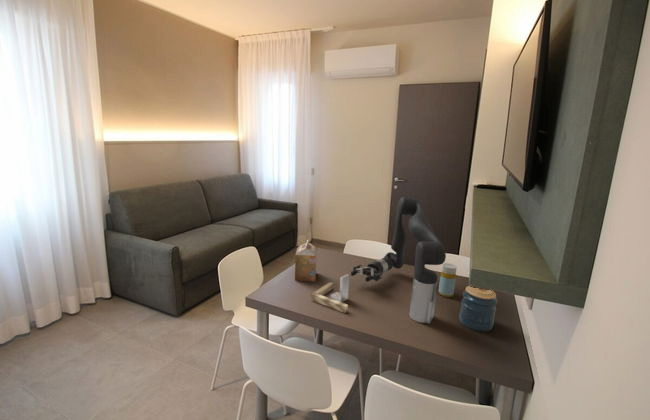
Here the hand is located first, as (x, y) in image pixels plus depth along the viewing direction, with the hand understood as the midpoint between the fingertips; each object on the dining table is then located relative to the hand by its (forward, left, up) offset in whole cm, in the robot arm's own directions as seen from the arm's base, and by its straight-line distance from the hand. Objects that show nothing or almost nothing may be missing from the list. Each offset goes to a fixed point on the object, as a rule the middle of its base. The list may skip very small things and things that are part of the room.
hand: (358, 276), depth 149 cm
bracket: (+5, +10, -8) cm, 14 cm away
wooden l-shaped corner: (+5, +12, -8) cm, 15 cm away
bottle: (-35, -26, -9) cm, 45 cm away
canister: (-51, -7, -9) cm, 53 cm away
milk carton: (+31, +1, -9) cm, 32 cm away
